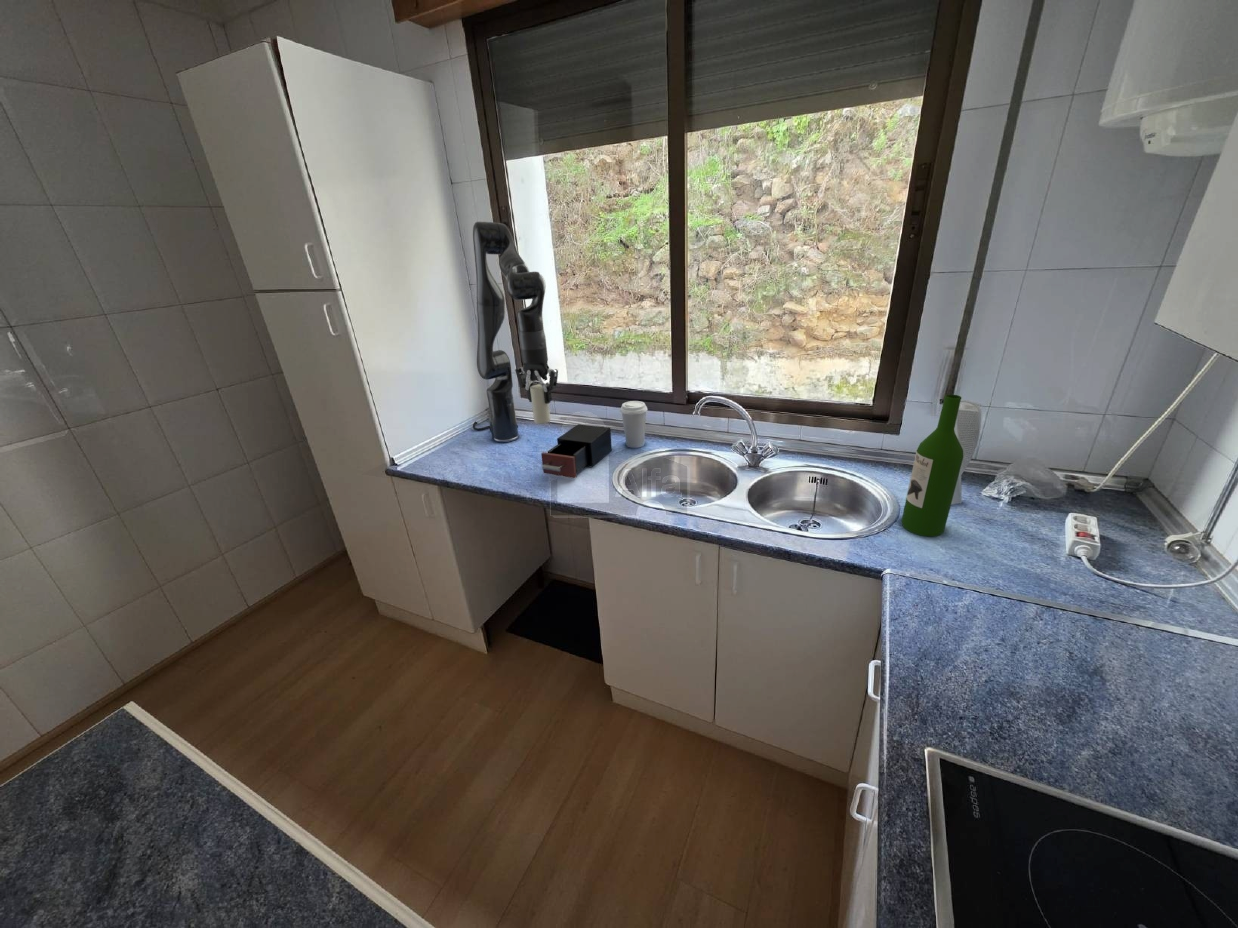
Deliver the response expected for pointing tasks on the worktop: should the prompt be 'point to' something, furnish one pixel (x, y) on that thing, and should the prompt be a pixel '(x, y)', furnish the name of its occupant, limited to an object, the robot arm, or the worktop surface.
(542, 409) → the container
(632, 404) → the coffee cup
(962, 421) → the light grey vase
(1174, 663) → the worktop surface
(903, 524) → the wine bottle
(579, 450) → the drawer
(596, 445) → the black sliding tray box
